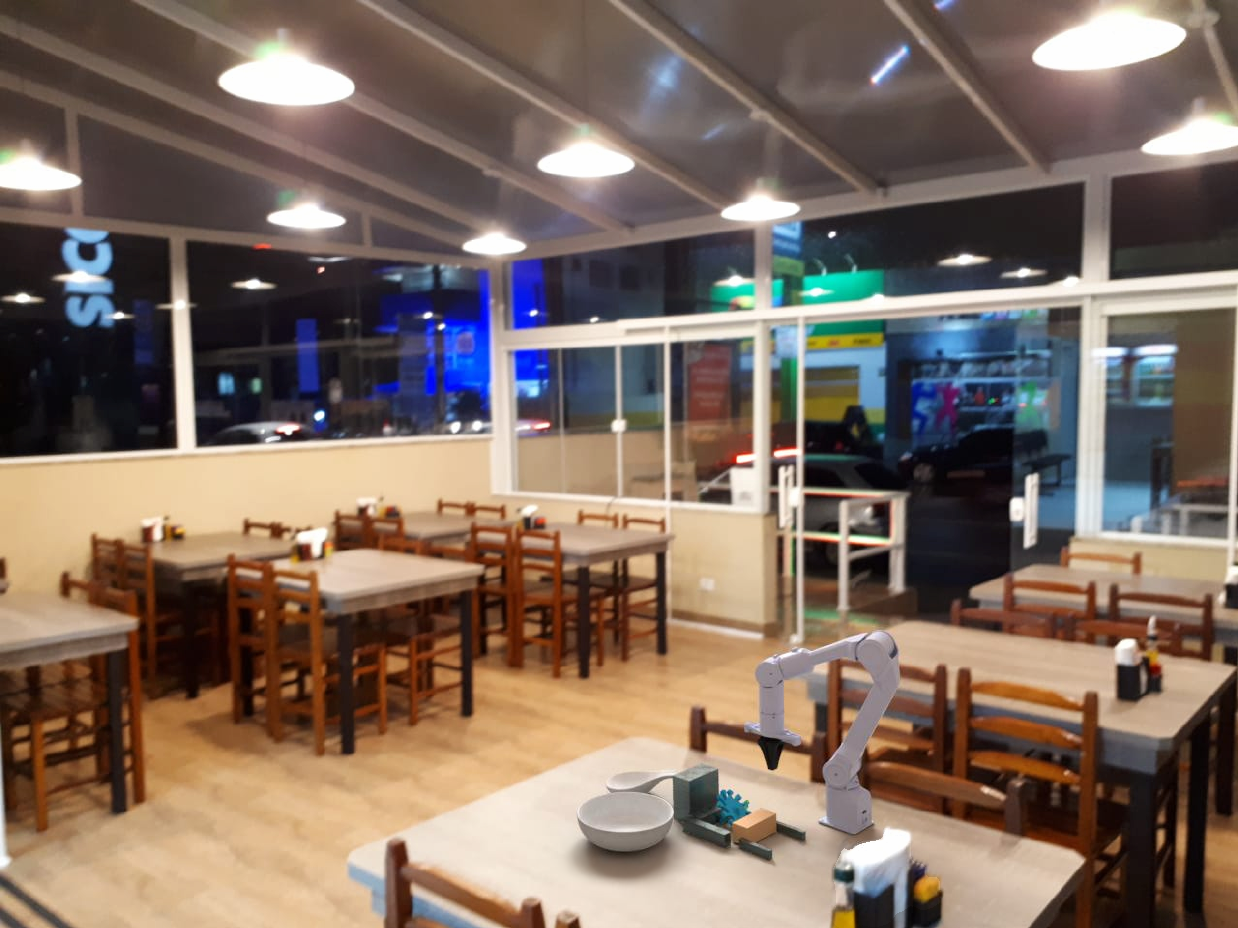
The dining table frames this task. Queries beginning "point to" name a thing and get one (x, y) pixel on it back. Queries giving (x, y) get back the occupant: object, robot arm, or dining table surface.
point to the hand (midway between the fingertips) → (772, 768)
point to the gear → (731, 807)
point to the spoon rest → (638, 780)
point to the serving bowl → (625, 820)
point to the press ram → (755, 826)
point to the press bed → (713, 811)
